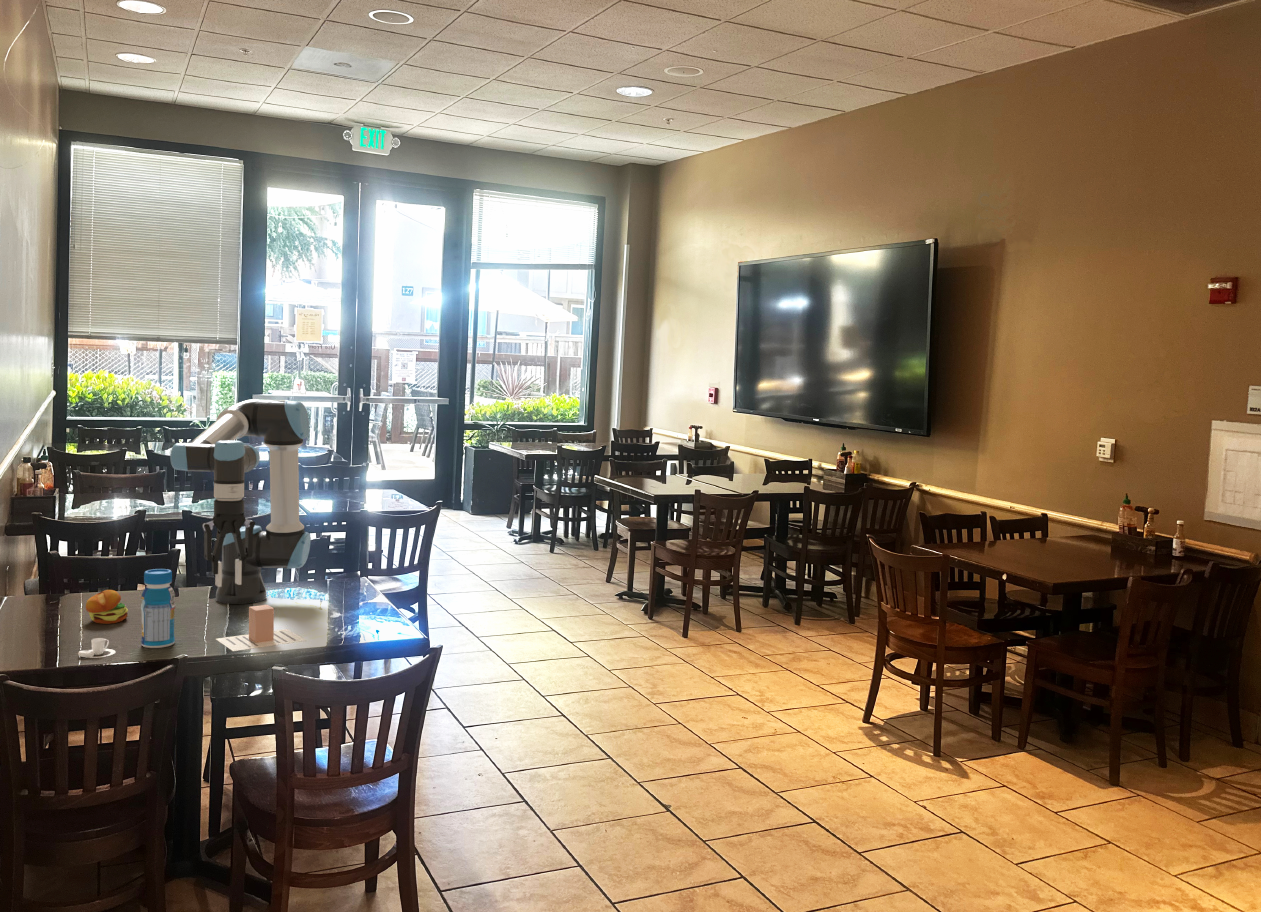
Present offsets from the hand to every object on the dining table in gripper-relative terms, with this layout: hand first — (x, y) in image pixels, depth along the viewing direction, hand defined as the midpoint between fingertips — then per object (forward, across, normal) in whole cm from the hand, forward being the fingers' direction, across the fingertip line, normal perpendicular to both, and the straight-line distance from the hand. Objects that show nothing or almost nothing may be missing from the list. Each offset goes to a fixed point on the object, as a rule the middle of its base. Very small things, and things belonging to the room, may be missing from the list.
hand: (228, 584), depth 273 cm
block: (+16, +9, 0) cm, 19 cm away
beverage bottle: (+17, -15, +10) cm, 25 cm away
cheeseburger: (+17, -20, +42) cm, 50 cm away
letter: (+17, +9, 0) cm, 19 cm away
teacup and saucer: (+17, -32, +11) cm, 38 cm away
